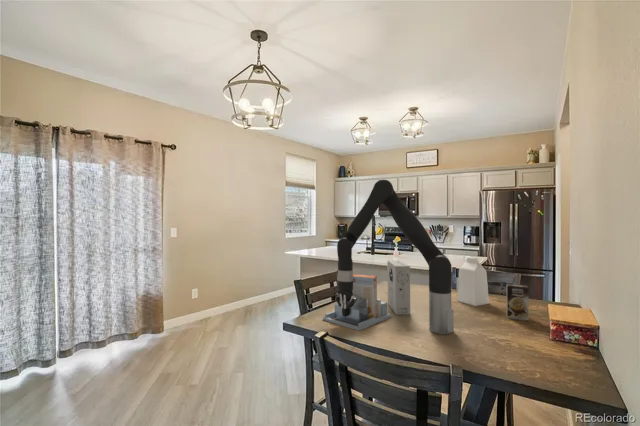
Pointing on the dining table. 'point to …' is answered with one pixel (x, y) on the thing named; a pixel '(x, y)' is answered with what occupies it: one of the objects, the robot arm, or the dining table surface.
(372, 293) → the cracker box
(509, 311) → the coffee box
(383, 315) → the vise body
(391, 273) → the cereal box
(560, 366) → the dining table surface
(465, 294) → the milk
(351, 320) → the sliding jaw
